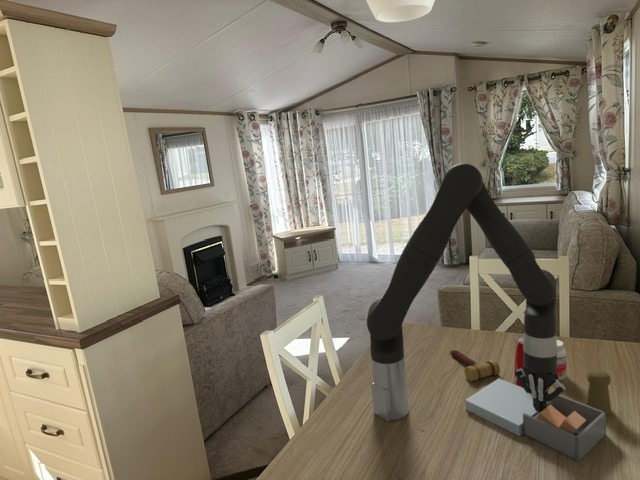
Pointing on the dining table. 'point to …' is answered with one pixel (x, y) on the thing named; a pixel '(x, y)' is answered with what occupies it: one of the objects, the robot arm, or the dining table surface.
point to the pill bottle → (561, 361)
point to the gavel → (476, 367)
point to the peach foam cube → (551, 416)
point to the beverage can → (518, 359)
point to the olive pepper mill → (599, 391)
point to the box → (563, 440)
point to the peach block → (572, 423)
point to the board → (503, 405)
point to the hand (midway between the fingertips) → (539, 410)
